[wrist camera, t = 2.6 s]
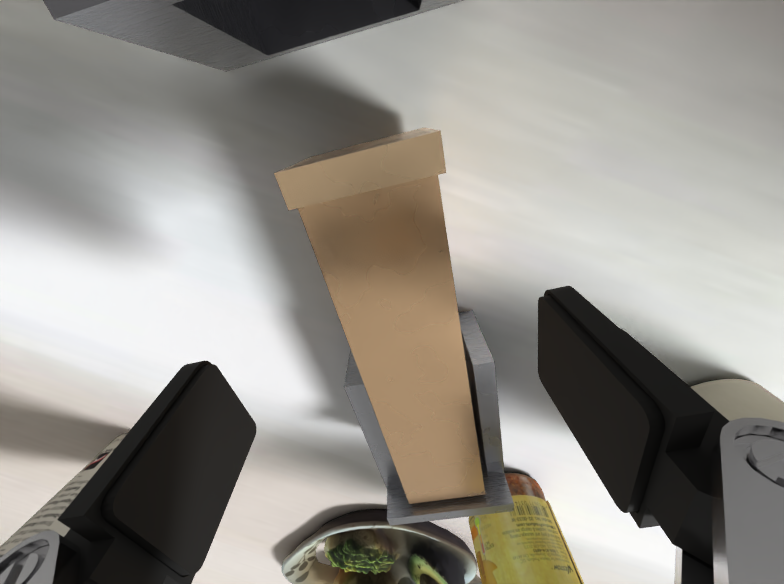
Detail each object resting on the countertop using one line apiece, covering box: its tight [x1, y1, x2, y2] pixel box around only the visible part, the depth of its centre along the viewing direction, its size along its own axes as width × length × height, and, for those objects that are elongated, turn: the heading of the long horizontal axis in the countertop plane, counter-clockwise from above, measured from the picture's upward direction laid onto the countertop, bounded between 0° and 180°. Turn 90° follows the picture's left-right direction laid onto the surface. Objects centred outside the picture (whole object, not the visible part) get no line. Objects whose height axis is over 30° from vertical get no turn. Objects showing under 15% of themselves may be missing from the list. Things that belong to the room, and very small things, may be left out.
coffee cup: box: [0, 433, 128, 558], centre depth 18 cm, size 7×7×10 cm
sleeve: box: [344, 310, 514, 526], centre depth 16 cm, size 7×9×6 cm
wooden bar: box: [274, 128, 485, 504], centre depth 14 cm, size 4×17×4 cm, turn 13°
